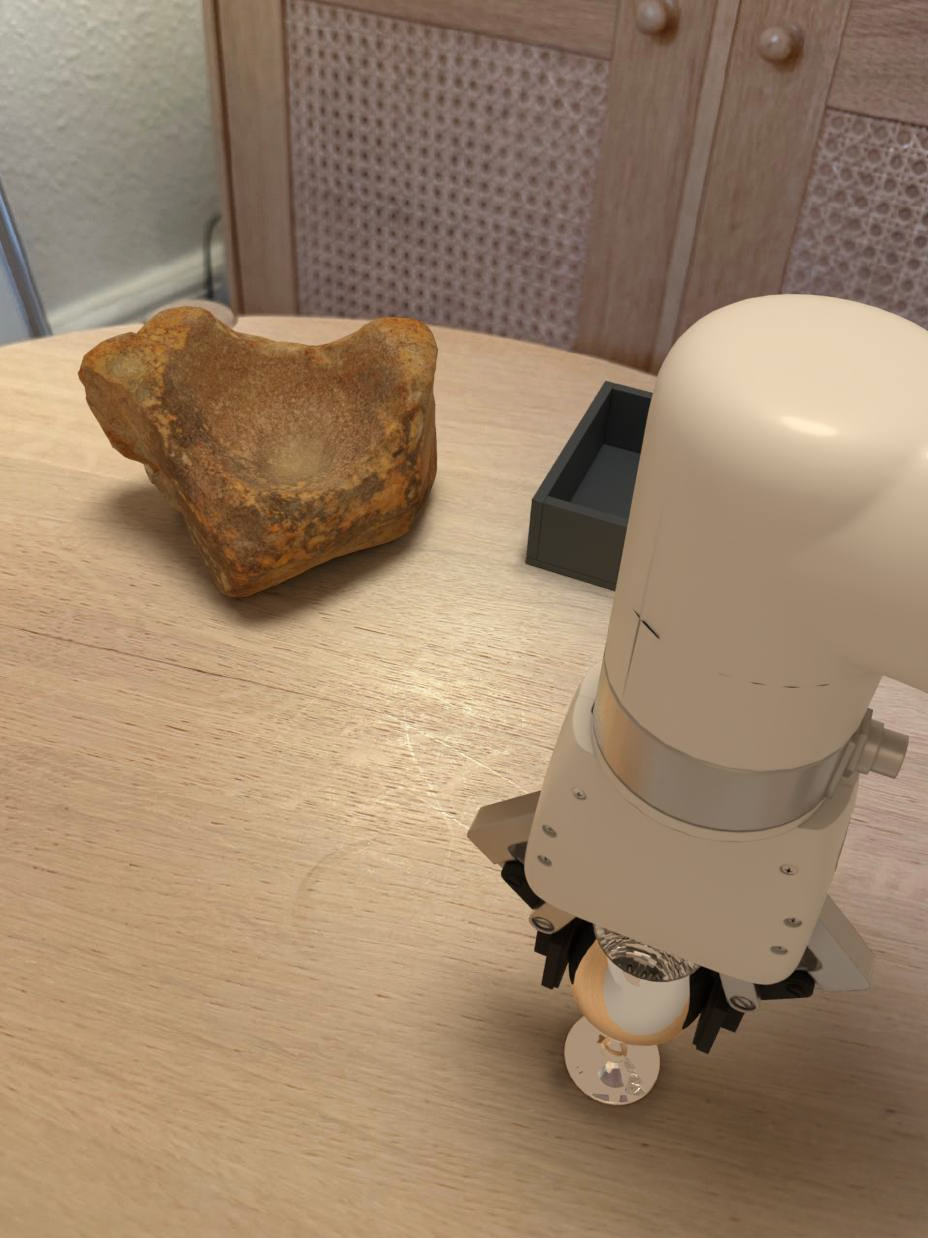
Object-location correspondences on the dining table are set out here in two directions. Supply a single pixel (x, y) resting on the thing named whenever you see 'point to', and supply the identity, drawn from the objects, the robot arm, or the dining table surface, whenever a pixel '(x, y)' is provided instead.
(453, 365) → the dining table surface
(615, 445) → the dish tub
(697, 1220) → the dining table surface
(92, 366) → the rough brown rock
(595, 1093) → the wineglass
